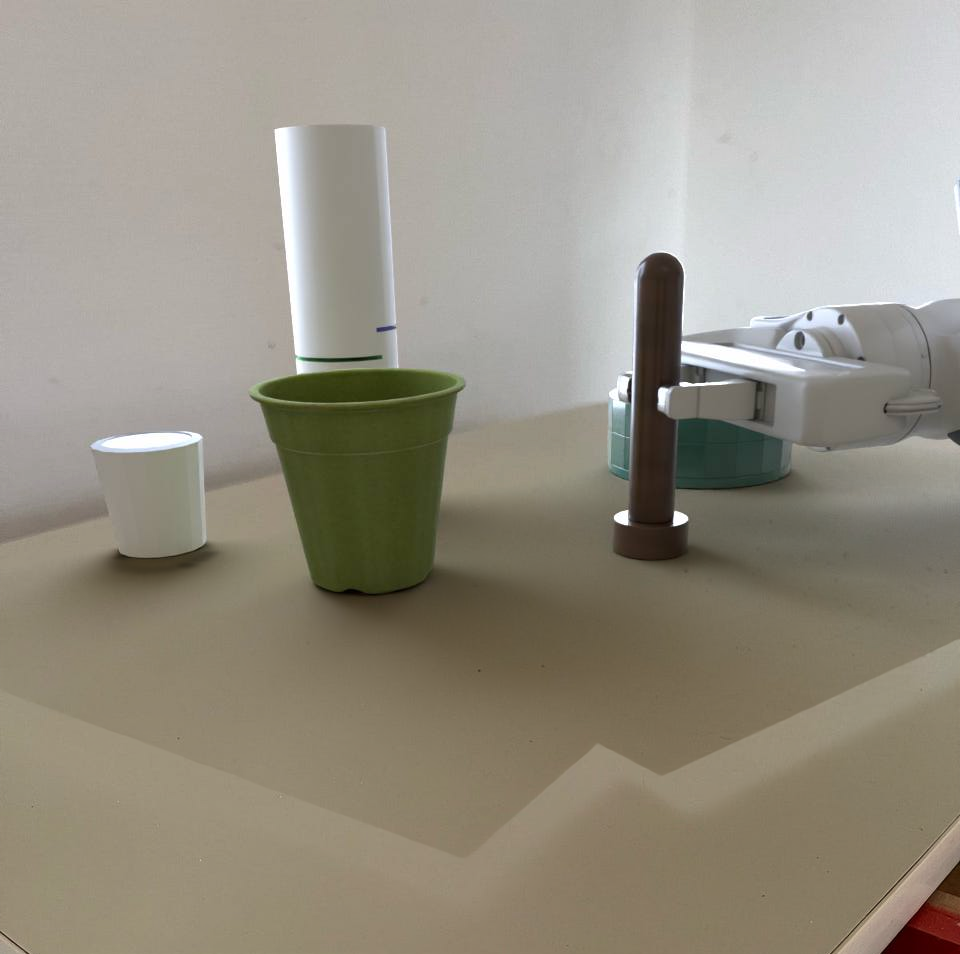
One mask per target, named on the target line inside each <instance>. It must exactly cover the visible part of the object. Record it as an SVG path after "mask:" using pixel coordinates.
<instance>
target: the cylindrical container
mask: <svg viewBox="0 0 960 954" xmlns="http://www.w3.org/2000/svg"><path fill="white" fill-rule="evenodd" d="M386 130H387V129H386V127H385V126H380V125H372V124H348V123H347V124H335V123H334V124H308V125H294V126H293V125H292V126H286V127H280V128H276V129H274V137H275V148H276V158H277V170H278V179H279V180H278V181H279V191H280V201H281V202H280V203H281V211H282V212H281V214H282V225H283V233H284V235H283V236H284V245H285V246H284V247H285V255H286V256H285V257H286V266H287V267H286V268H287V277H288V278H287V279H288V289H289V290H288V291H289V298H290V310H291V323H292V332H293V343H294V353H295V356H296V357H295V365H296V374H300V373H310V372H319V371H328V370H341V369H359V368H400V365H399V348H398V347H399V345H398V329H397V327H396V326H395V325H397V312H396V311H397V310H396V296H395V295H396V293H395V276H394V275H395V274H394V255H393V239H392V237H393V236H392V222H391V221H392V220H391V203H390V202H391V201H390V200H391V199H390V188H389V187H390V185H389V168H388V166H389V165H388V148H387V131H386Z"/></svg>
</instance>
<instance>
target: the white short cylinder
mask: <svg viewBox="0 0 960 954" xmlns="http://www.w3.org/2000/svg"><path fill="white" fill-rule="evenodd" d="M203 439H204V438H203V436H202V435H200V434H199V433H196V432H191V431H183V430H182V431H181V430H148V431H147V430H146V431H139V432H130V433H125V434H118V435H114V436H110V437H105V438H102V439H99V440H96V441H95V442H93V443H92V444H90V449H91V453H92V456H93V461H94V464H95V468H96V472H97V476H98V478H99V482H100V486H101V489H102V494H103V497H104V501H105V504H106V509H107V512H108V517H109V521H110V523H111V528H112V531H113V534H114V538H115V543H116V545H117V550H118V552H119V554H121V555H124V556H126V557H130V558H140V559H152V558H165V557H172V556H179V555H183V554H186V553H189V552H193V551H195V550H197V549H199V548H201V547H203V546H204V545H205V544H206V543H207V522H206V496H205V495H206V493H205V471H204V470H205V467H204V466H205V465H204V464H205V463H204V443H203V441H204V440H203Z"/></svg>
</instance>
